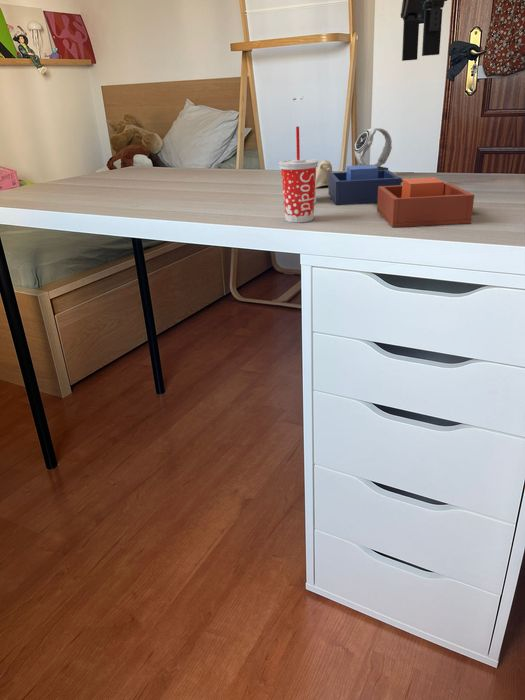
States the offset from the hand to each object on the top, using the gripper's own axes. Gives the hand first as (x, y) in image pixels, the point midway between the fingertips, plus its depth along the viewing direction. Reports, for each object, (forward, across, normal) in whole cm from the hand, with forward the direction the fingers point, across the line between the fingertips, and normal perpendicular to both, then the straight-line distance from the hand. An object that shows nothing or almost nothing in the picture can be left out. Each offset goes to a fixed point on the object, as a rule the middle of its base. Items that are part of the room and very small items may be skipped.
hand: (419, 58), depth 95 cm
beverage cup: (+23, +21, -24) cm, 39 cm away
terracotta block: (+22, +24, -5) cm, 33 cm away
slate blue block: (+22, +5, -11) cm, 25 cm away
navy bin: (+23, +5, -11) cm, 26 cm away
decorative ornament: (+23, -11, -17) cm, 30 cm away
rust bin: (+23, +24, -5) cm, 34 cm away
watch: (+23, -12, -6) cm, 27 cm away
